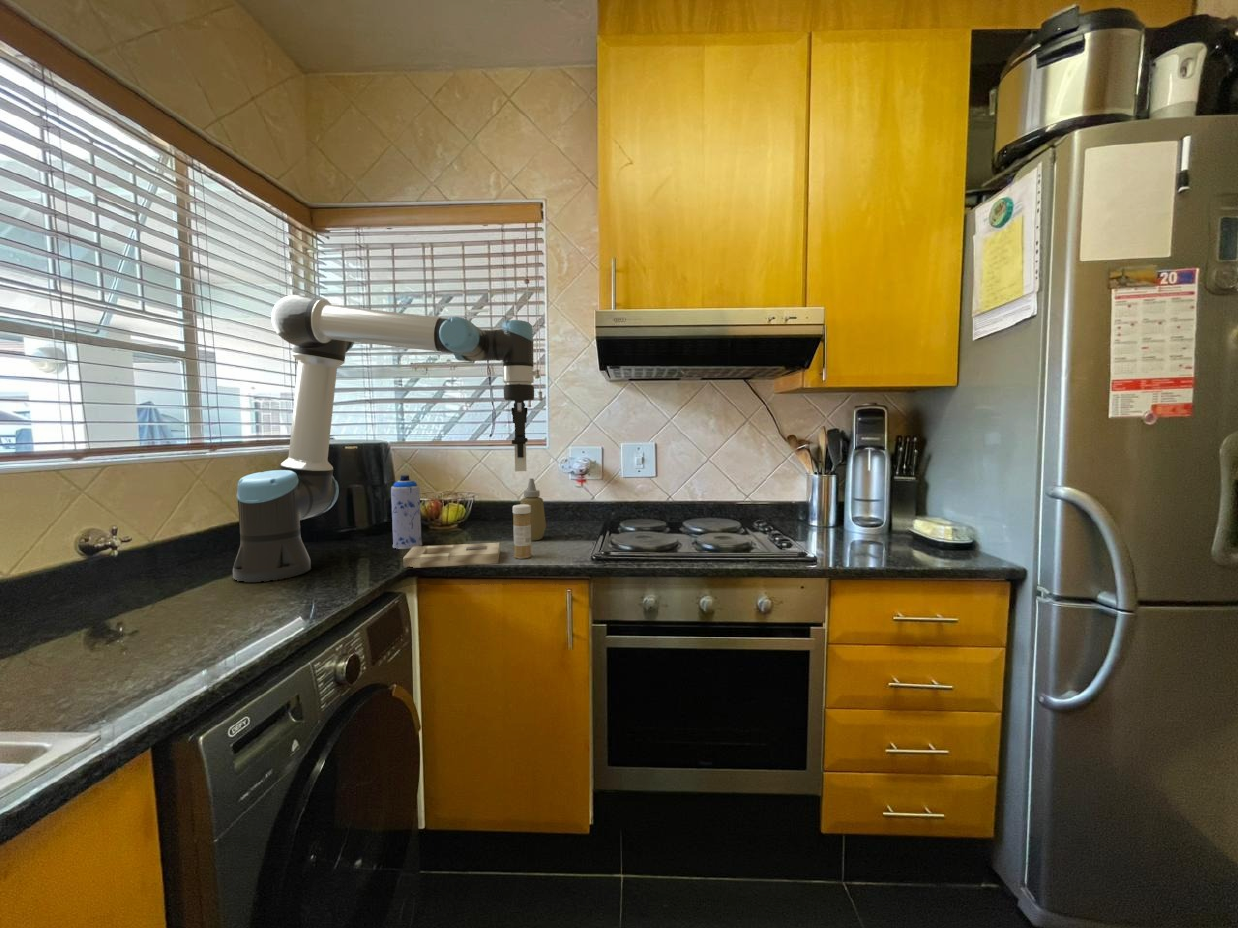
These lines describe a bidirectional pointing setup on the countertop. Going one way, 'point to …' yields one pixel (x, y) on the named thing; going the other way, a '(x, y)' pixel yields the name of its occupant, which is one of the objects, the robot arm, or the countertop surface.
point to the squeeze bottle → (535, 511)
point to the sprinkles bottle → (522, 531)
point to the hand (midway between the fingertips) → (520, 469)
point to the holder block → (452, 555)
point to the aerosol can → (406, 513)
